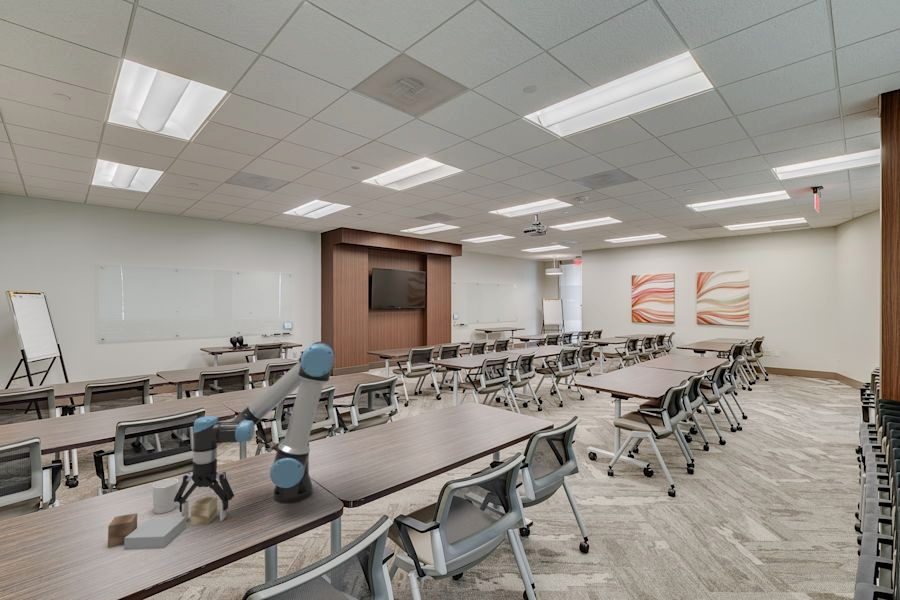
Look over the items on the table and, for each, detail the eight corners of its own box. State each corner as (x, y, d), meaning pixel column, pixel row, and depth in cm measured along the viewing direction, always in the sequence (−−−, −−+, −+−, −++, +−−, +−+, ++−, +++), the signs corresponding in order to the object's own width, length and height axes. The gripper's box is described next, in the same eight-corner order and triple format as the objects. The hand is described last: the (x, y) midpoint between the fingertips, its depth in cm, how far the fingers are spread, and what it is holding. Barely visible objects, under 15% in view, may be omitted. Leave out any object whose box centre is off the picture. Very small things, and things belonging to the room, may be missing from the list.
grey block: (186, 527, 138) (186, 516, 138) (163, 549, 126) (164, 536, 126) (150, 529, 137) (150, 517, 137) (124, 550, 125) (124, 537, 125)
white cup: (164, 515, 145) (164, 488, 145) (146, 513, 147) (147, 486, 147) (182, 505, 153) (183, 479, 153) (165, 503, 154) (166, 477, 154)
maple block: (216, 515, 145) (217, 496, 146) (208, 524, 139) (208, 504, 140) (200, 516, 145) (200, 497, 145) (190, 525, 139) (191, 505, 139)
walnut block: (136, 533, 134) (137, 513, 134) (131, 543, 128) (131, 521, 128) (114, 537, 131) (115, 516, 131) (107, 547, 126) (108, 526, 126)
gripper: (244, 455, 147) (243, 513, 147) (175, 457, 145) (174, 515, 145) (235, 463, 140) (234, 524, 139) (162, 465, 138) (161, 526, 137)
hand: (203, 519), depth 142 cm, fingers open, 12 cm apart
